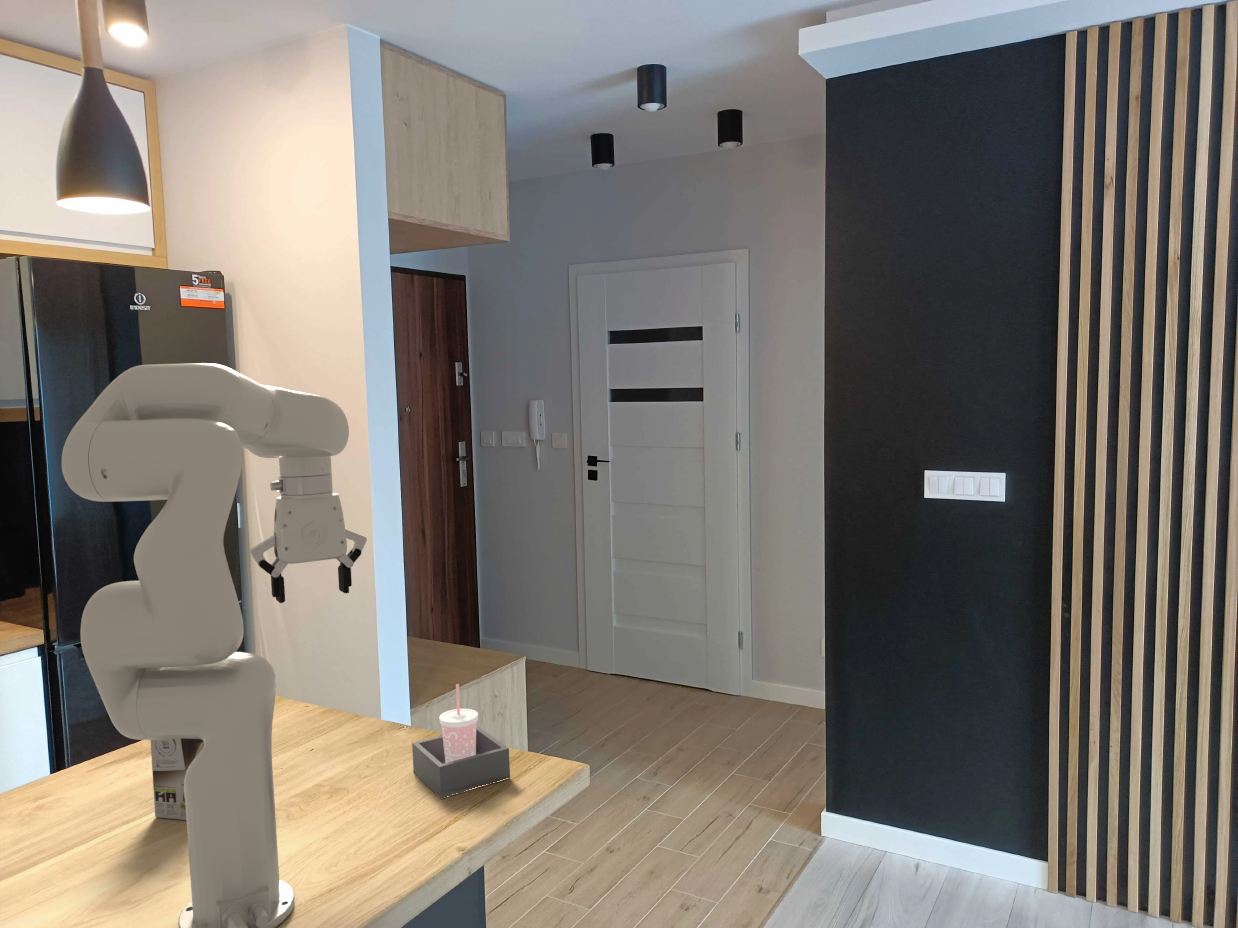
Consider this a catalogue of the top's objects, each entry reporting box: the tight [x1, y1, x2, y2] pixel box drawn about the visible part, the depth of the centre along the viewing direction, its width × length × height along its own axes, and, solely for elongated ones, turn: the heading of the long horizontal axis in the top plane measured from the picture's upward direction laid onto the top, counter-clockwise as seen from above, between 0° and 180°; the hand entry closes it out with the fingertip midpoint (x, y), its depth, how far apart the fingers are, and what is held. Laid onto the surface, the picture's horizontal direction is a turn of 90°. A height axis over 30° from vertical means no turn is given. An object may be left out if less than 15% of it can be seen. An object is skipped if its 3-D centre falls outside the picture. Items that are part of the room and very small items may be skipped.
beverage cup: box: [438, 683, 479, 763], centre depth 141 cm, size 6×6×14 cm
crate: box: [411, 726, 511, 799], centre depth 141 cm, size 12×12×5 cm
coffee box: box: [150, 738, 204, 821], centre depth 133 cm, size 9×6×16 cm
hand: (312, 596), depth 137 cm, fingers open, 9 cm apart
